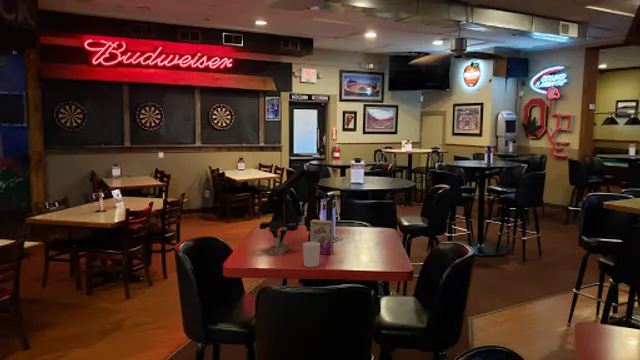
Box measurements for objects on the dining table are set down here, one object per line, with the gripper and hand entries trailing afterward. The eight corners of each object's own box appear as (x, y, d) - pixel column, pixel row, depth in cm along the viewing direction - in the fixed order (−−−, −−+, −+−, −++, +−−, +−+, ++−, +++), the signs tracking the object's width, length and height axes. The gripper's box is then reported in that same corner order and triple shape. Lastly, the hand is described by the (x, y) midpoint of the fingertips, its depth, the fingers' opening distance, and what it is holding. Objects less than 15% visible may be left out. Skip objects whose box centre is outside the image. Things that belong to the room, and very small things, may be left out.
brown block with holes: (289, 248, 250) (289, 243, 250) (279, 255, 237) (279, 249, 236) (278, 248, 252) (278, 242, 251) (268, 254, 238) (268, 248, 238)
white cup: (302, 263, 224) (302, 241, 223) (319, 262, 224) (319, 241, 223) (303, 267, 216) (303, 245, 215) (320, 267, 217) (320, 245, 216)
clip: (283, 246, 248) (283, 235, 247) (278, 250, 240) (278, 238, 240) (279, 246, 248) (279, 235, 247) (274, 250, 241) (274, 238, 240)
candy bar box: (309, 253, 241) (309, 221, 239) (312, 251, 246) (312, 219, 244) (330, 255, 237) (330, 222, 236) (333, 253, 242) (333, 220, 240)
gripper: (255, 214, 237) (255, 245, 238) (291, 216, 232) (291, 248, 234) (263, 210, 248) (263, 240, 249) (298, 212, 243) (298, 242, 244)
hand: (279, 243), depth 244 cm, fingers closed on clip, 2 cm apart
